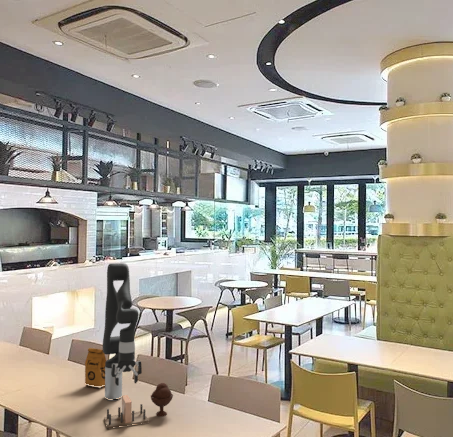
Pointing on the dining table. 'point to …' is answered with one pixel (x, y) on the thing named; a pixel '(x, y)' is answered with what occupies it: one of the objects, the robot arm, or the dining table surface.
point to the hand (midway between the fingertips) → (126, 384)
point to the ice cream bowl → (161, 398)
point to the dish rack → (119, 421)
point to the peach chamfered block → (126, 408)
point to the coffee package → (95, 367)
